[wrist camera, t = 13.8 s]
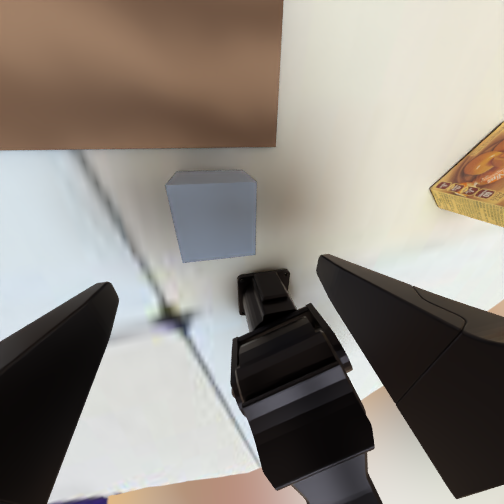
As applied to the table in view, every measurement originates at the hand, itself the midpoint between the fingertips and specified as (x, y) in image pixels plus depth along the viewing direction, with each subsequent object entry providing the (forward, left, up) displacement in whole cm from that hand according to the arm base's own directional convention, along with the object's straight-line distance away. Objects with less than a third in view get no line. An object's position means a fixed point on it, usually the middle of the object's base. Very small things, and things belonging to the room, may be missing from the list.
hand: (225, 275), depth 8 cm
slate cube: (0, 0, -11) cm, 11 cm away
